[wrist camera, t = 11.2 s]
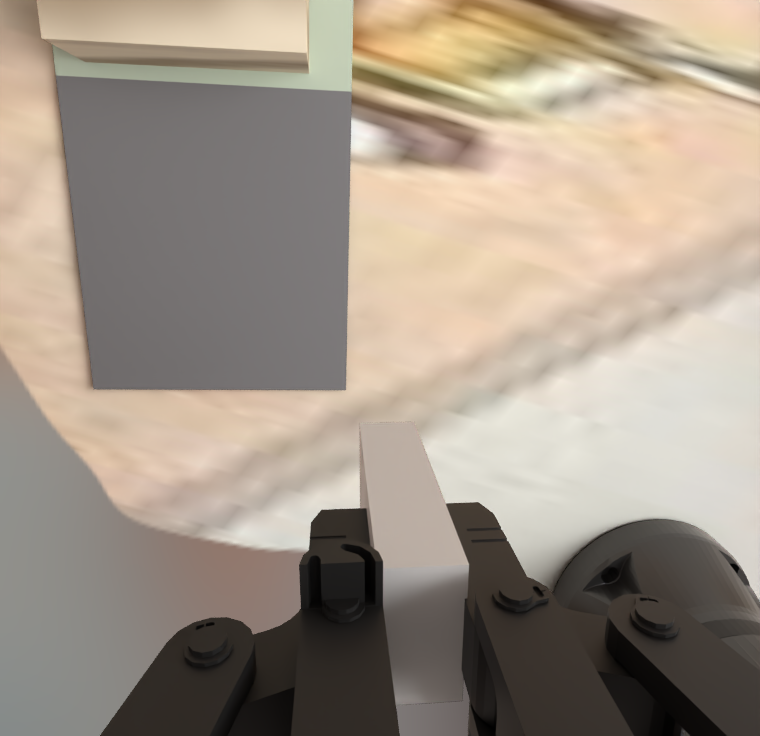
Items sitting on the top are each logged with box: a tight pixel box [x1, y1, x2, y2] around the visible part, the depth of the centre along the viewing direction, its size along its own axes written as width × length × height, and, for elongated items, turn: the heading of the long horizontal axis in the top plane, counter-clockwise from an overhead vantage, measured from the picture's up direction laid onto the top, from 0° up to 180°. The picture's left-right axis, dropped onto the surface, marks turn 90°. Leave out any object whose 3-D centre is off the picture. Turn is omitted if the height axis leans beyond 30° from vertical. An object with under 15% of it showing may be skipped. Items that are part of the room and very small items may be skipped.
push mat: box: [52, 0, 353, 390], centre depth 30 cm, size 35×16×3 cm, turn 178°
